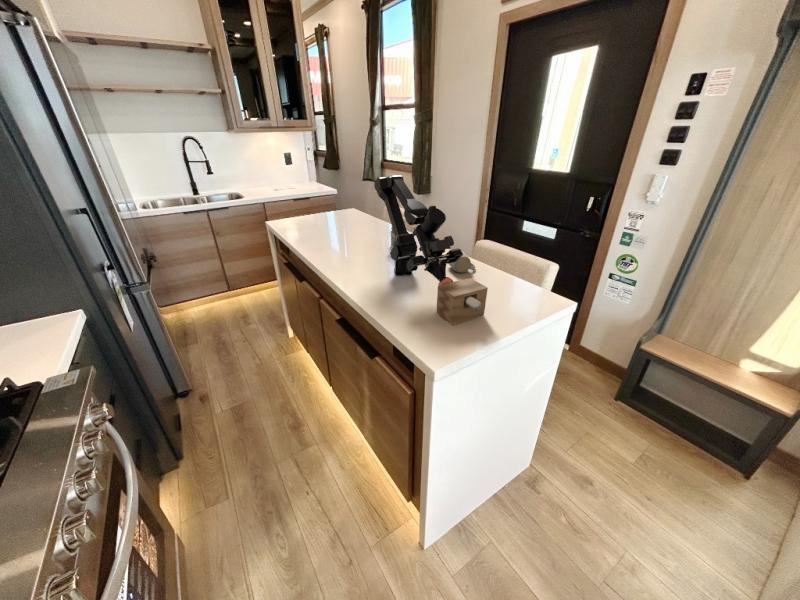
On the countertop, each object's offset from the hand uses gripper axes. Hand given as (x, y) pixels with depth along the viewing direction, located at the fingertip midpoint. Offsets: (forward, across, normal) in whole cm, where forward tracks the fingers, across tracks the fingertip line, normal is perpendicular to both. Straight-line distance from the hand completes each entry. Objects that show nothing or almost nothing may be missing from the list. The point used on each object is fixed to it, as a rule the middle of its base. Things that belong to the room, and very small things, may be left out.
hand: (444, 283), depth 102 cm
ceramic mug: (-9, +23, +19) cm, 31 cm away
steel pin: (+8, 0, -4) cm, 9 cm away
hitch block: (+11, 0, -2) cm, 11 cm away
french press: (-35, +12, +44) cm, 57 cm away
